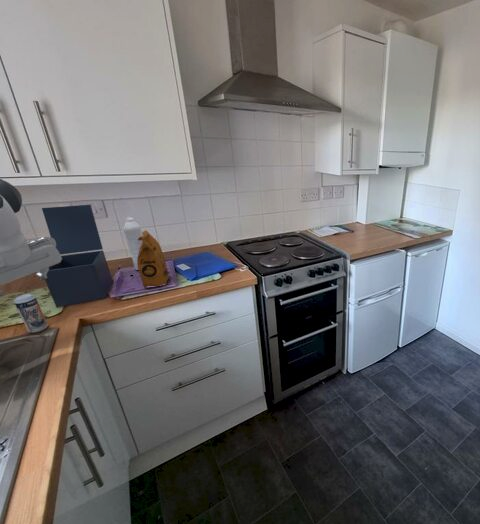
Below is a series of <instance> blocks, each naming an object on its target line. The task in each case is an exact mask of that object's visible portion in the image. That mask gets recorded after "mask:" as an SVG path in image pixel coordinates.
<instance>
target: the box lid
mask: <svg viewBox="0 0 480 524" xmlns="http://www.w3.org/2000/svg"><path fill="white" fill-rule="evenodd" d="M41 210H42V213H43V217H44V220H45V224H46V226H47V230H48V233H49V236H50V238H53V239H55V242H56V249H57V250H58V251H59V253H60V255H61V256H62V255H70V254H78V253H86V252H94V251H102V250H104V249H103V244H102V241H101V237H100V234H99V230H98V226H97V223H96V222H97V221H96V219H95V215H94V212H93V211H94V210H93V207H92V204H79V205H77V204H76V205H63V206H52V207H51V206H50V207H49V206H48V207H42V208H41Z"/></svg>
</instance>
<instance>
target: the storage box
mask: <svg viewBox="0 0 480 524" xmlns="http://www.w3.org/2000/svg"><path fill="white" fill-rule="evenodd" d="M61 257H62V260H61V262H60V263H58V264H55V265H53V266H50V267H49V270H48V272H47V274H46V276H47V278H46V279H44V281H45V284H46V286H47V288H48V291H49V293H50V296H51V298H52V301H53V303H54V305H55V307H56V308H61V306H62V307H67V306H71V305H72V306H73V305H78V304H83V303H88V302H94V301H98V300H104V299H107V297H108V294H109V292H110V290H111V287H112V285H111V284H113V282H114V280H113V277H112V273H111V271H110V268H109V265H108V261H107V258H106V255H105V251H104V249H101V250H93V251H86V252H78V253H70V254H62V255H61ZM112 281H113V282H112Z"/></svg>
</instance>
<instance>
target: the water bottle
mask: <svg viewBox="0 0 480 524" xmlns="http://www.w3.org/2000/svg"><path fill="white" fill-rule="evenodd" d="M123 232H124V235H125V239H126V243H127V246H128V250H129V253H130V256H131V260H132V264H133V268H134V270H135V269H138V266H137V258H138V254H139V250H140V246H141V244H142V242H143V241H142V240H141V241H139V240H138V239H139V237H142V236H143V234H142V233H143V231H142V227H141V225H140V224H139V223H137V222H136V221H135V218H133V216H127V217H125V223H124V226H123Z"/></svg>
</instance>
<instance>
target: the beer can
mask: <svg viewBox="0 0 480 524" xmlns="http://www.w3.org/2000/svg"><path fill="white" fill-rule="evenodd" d="M13 303H14V305H15V307H16V309H17V311H18V313H19V315H20V318H21V320H22V322H23V324H24V326H25V328H26V330H27V332H28V333H33V334H34V333H39V332H42V331H44V330H45V329H47V328H48V327H49V324H48V321H47V320H46V317H45V315H44V313H43V310H42V308H41V306H40V303H39V301H38V299H37V297H36V296H35V295H34V294H33V293H24V294H21V295H18V296H16V297H15V298H14V300H13Z"/></svg>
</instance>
